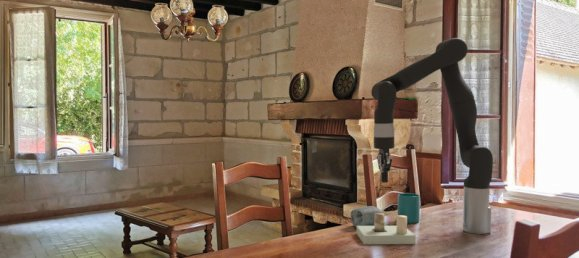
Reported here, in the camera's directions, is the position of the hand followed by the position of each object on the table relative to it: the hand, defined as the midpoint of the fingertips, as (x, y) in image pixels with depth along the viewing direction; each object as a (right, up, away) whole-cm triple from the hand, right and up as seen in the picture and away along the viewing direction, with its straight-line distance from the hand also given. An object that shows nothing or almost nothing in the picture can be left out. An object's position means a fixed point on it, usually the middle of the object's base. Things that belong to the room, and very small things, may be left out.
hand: (384, 182), depth 173 cm
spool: (-4, -20, +14) cm, 24 cm away
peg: (-3, -20, -4) cm, 21 cm away
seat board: (-1, -20, -4) cm, 20 cm away
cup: (+16, -19, +25) cm, 35 cm away
